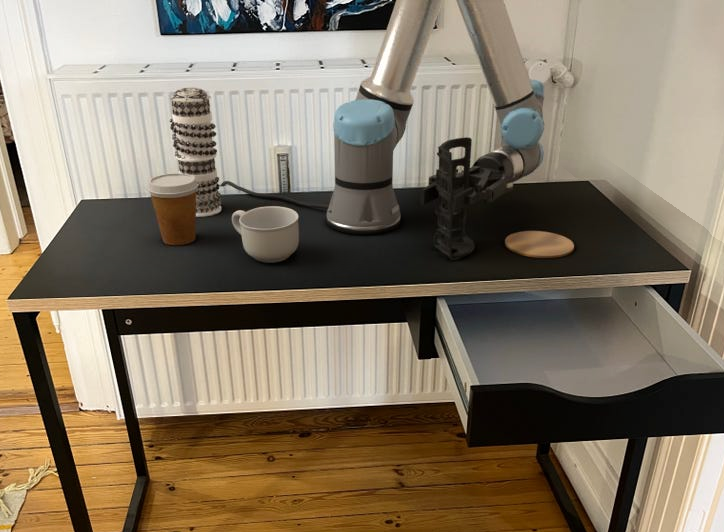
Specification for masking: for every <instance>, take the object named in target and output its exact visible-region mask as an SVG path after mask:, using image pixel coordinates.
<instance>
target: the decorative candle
mask: <svg viewBox="0 0 724 532" xmlns="http://www.w3.org/2000/svg"><path fill="white" fill-rule="evenodd" d="M211 98H212V97H211V96H210V95H209V94H207V92H206V91H205V90H204V89H202V88H200V87H183V88H179V89H177V90H175V91H174V93H173V96H171V97H170V98H169V100H170V102H171V108H172V109H171V110H172V114H171V116H172V118H169V123H171V124H170V127H169V129H170V130H171V131H172V133H173V134H171V136H172V137H171V139H172V140H173V144H172V147H173V148H174V149H175V152H174V156H175V159H176V160H178V169H179V170H178V173H182V174H189V175H192V176H194V177H195V180H196V182H197V183H198V187H197V191H196V218H201V217H202V218H203V217H204V218H205V217H209V216H215V215H217V214H220V213H221V211H222V206H221V205H222V200H221V199H220V198H221V195H222V193H221V192H220V191H219V190H220V188H221V186H220V185H221V184H219V181H220V177H219V176H218V171H217V170H218V169H217V167H216V160H215V158H216V157H217V155H218V154H217V153H218V150H217V149H216V148H214V147H216V146H217V141H215V140H213V138H215V137H216V136H217V132H216V131H214V129H216V124H215V123H213V122H212V120H213V116H212V111H211V103H210V99H211Z"/></svg>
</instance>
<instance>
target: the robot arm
mask: <svg viewBox="0 0 724 532" xmlns="http://www.w3.org/2000/svg"><path fill="white" fill-rule="evenodd" d="M455 1H456V4H457V6H458V9H459V11H460V14H461V17H462V20H463V24H464V25H465V29H466V31H467V34H468V37H469V39H470V42H471V45H472V48H473V51H474V53H475V56H476V59H477V62H478V65H479V68H480V70H481V73H482V75H483V78H484V81H485V84H486V87H487V89H488V92H489V95H490V98H491V100H492V103H493V106H494V110H495V112H496V115H497V118H498V121H499V124H500V128H501V129H500V133H501V138H500V139H501V140H500V147H498V148H497V149H494V150H492V151H490V152H488V153H486V154H484V155H482V156H480V157H478V158H477V159H476V160H475V162H474V163H473V164H472V166H470V173H469V186H468V189H466V190H464V191H462V190H461V191H460V192H458V193H456V194H454V195H452V196H453V202H452V211H454V213H456V212H459V211H461V209H462V208H463V207H465V206H467V207H468V206H469V205H473V204H475V203H480V202H482V201H484V203H485V204H491V203H492V202H494V201H495V200H497V199H498V198H500V197H502V196H503V195H504V194H506V193H509V192H513V191H514V183H515V182H517V181H518V180H521V179H522V178H525V177H527V176H529V175H531V174H532V173H534V172H535V171H536V170H537V169H539V167H541V165H542V163H543V160H544V156H545V151H544V148H543V145H542V143H541V142H540V140H541V138H542V136H543V133H544V131H545V121H544V114H543V109H544V108H543V106H544V100H545V84H544V82H542V81H540V80H538V79H531V78H530V76H529V73H528V70H527V67H526V64H525V61H524V57H523V55H522V52H521V49H520V46H519V43H518V40H517V36H516V33H515V30H514V27H513V25H512V22H511V19H510V16H509V13H508V10H507V6H506V3H505V0H455ZM443 3H444V0H396V1H395V3H394V6H393V9H392V13H391V15H390V18H389V22H388V24H387V27H386V30H385V34H384V35H383V36H384V37H383V39H382V43H381V45H380V48H379V51H378V54H377V57H376V60H375V63H374V67H373V69H372V72H371V75H370V76H369V77H366V78H365V79H362V81H361V82H360V85H359V88H358V90H357V95H356V96H355V99H353V100H351V101H350V102H343V104H340V105H339V106H338V107H337V109H336V110H335V112H334V119H333V125H332V127H333V134H334V135H333V141H334V143H333V144H334V146H333V149H334V151H333V152H334V188H333V191H332V195H331V198H330V201H329V204H323V203H309V202H304V201H300V200H297V199H294V198H292V197H288V196H284V195H278V194H268V193H261V192H260V193H259V192H255V191H252V190H249V189H247V188H245V187H242V186H240V185H238V184H236V183H233V182H232V181H229V180H225V181H222V183H220V184H219V185H220V188H221V187H222V188H223V187H225V186H226V185H228V186H230V187H232V188H234V189H235V190H237V191H241V192H243V193H245V194H247V195H250V196H253V197H257V198H262V199H263V198H264V199H272V200H281V201H286V202H290V203H293V204H295V205H298V206H301V207H306V208H316V209H326V210H327V211H326V224H327V226H328V227H329V228H331V229H333V230H334V231H337V232H340V233H345V234H350V235H363V236H364V235H377V234H384V233H387V232H390V231H392V230H395V229H396V228H398V227H400V224H401V210H400V205H399V204H398V201H397V196H396V193H395V190H394V187H393V178H394V177H393V176H394V175H393V173H394V171H393V170H394V150H395V149H396V147H397V145H398V144H399V142H400V141H401V140H402V138H403V136H404V135H405V131H406V129H407V123H408V119H409V117H410V114H411V111H412V108H413V105H414V102H415V100H414V97H413V95H412V92H411V89H412V87H413V84H414V81H415V78H416V76H417V73H418V70H419V68H420V65H421V62H422V61H423V56H424V54H425V51H426V48H427V46H428V43H429V40H430V38H431V35H432V33H433V30H434V26H435V24H436V21H437V19H438V16H439V13H440V10H441V7H442V6H443ZM463 171H464V169H463V170H459V168H458V166H457V167H456V177H461V176H462V175H463ZM462 188H463V185H462V184H457V185H452V191H454V190H459V189H462ZM436 199H438V190H437V189H436V174H433V175H431V176H428V185H426V186H425V187H423V188H422V189H421V190H420V205H423V206H425V205H426V204H428V203H431V202H433V201H435V200H436Z"/></svg>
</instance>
